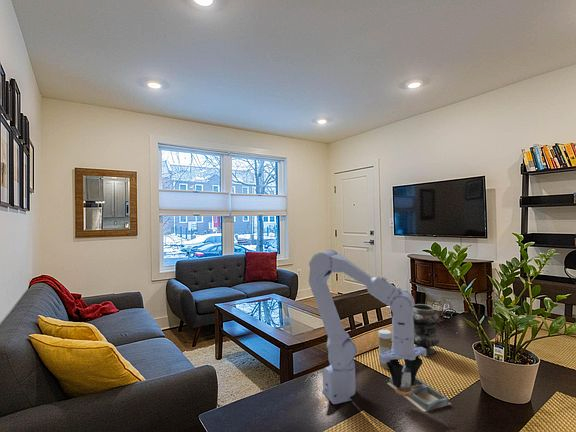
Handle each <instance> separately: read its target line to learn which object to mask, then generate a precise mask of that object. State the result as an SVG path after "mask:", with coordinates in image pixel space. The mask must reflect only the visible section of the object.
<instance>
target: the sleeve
mask: <svg viewBox="0 0 576 432" xmlns="http://www.w3.org/2000/svg"><path fill="white" fill-rule="evenodd" d="M394 391H395V392H396V394H398V395H399V396H403V397H404V396H410V395H412V394H413V389H412V387H411V370H410V369H409V368H406V367H403V369H402V373H401V386H400V388H397V387H396V386H395V389H394Z"/></svg>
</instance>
